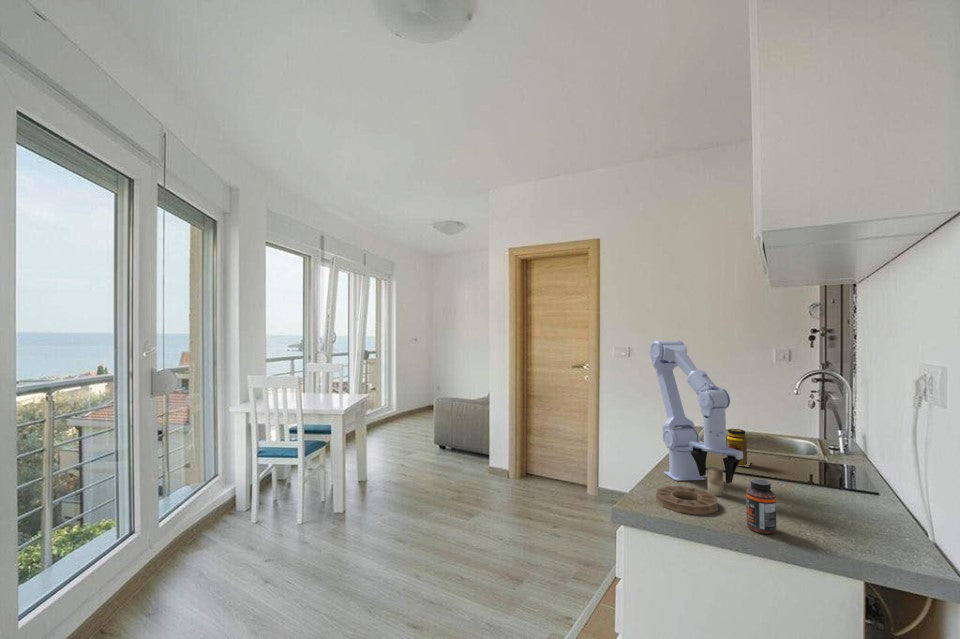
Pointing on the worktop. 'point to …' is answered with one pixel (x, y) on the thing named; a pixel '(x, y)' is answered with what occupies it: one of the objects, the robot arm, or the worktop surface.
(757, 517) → the supplement bottle
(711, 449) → the robot arm
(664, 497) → the walnut ring
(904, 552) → the worktop surface
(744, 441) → the condiment
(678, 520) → the worktop surface
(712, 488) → the beech peg
